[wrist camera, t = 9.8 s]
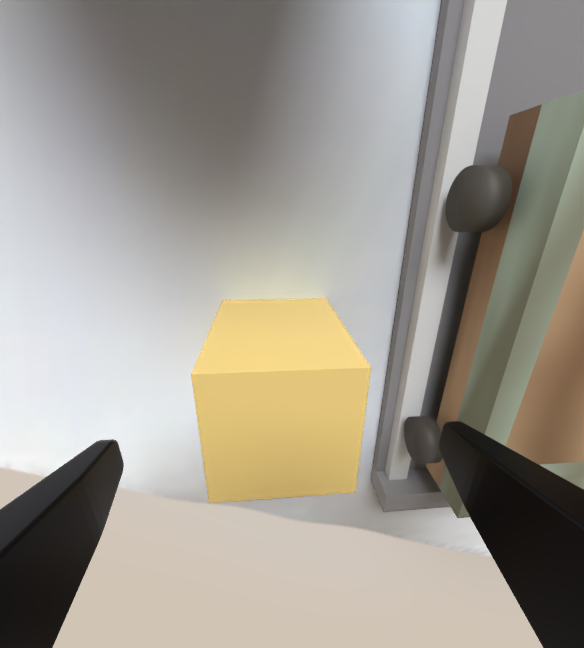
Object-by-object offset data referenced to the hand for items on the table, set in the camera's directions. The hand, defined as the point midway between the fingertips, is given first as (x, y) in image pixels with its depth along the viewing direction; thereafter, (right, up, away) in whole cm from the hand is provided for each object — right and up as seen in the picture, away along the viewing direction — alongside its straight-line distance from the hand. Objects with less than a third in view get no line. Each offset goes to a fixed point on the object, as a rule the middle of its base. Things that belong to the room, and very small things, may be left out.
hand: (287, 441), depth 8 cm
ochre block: (-1, +2, +6) cm, 6 cm away
